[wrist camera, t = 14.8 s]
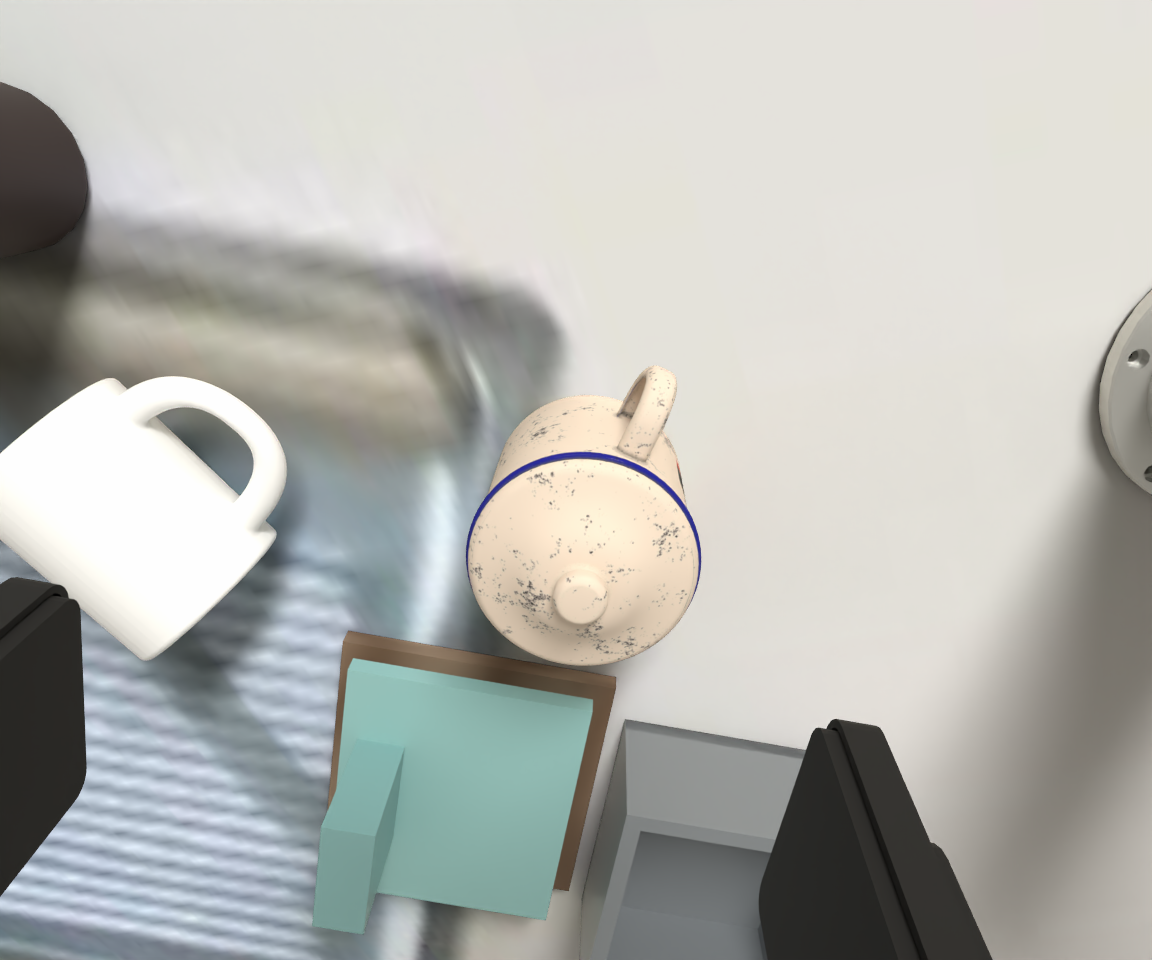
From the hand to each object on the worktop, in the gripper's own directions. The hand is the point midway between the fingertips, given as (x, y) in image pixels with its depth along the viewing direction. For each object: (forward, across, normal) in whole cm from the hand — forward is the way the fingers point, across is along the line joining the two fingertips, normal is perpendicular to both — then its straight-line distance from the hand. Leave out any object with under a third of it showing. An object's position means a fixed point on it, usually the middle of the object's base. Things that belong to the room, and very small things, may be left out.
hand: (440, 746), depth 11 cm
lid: (+29, +1, +26) cm, 39 cm away
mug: (+31, +16, +11) cm, 36 cm away
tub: (+30, -12, +28) cm, 43 cm away
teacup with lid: (+31, -3, +7) cm, 31 cm away
